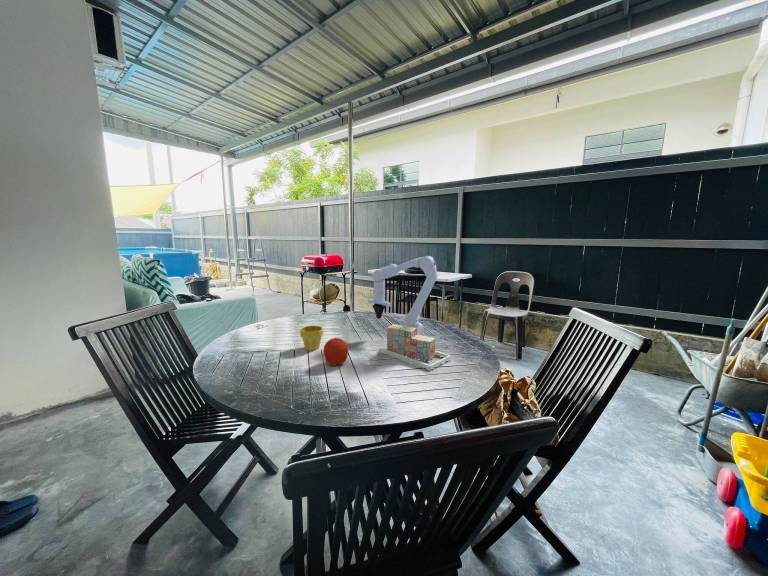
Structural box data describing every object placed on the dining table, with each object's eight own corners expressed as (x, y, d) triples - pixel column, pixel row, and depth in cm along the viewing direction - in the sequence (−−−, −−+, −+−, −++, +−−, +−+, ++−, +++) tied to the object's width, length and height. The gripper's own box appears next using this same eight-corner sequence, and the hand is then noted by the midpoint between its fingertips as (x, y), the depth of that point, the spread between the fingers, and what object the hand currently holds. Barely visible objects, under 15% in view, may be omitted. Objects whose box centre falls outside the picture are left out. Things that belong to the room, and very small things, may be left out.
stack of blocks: (434, 358, 138) (436, 331, 136) (429, 362, 132) (430, 335, 130) (393, 348, 149) (393, 323, 147) (386, 352, 143) (386, 326, 141)
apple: (324, 369, 124) (324, 342, 122) (322, 360, 134) (322, 334, 132) (349, 367, 127) (349, 340, 125) (346, 357, 136) (345, 332, 134)
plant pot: (310, 354, 140) (310, 333, 138) (296, 348, 146) (295, 328, 144) (327, 347, 148) (327, 328, 146) (313, 342, 154) (313, 324, 153)
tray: (400, 343, 155) (400, 339, 155) (450, 359, 135) (451, 355, 135) (378, 351, 144) (378, 347, 143) (430, 370, 124) (430, 366, 124)
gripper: (363, 291, 162) (363, 316, 164) (384, 295, 152) (383, 322, 155) (373, 290, 167) (373, 314, 169) (393, 293, 157) (393, 319, 160)
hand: (378, 318), depth 162 cm, fingers closed
